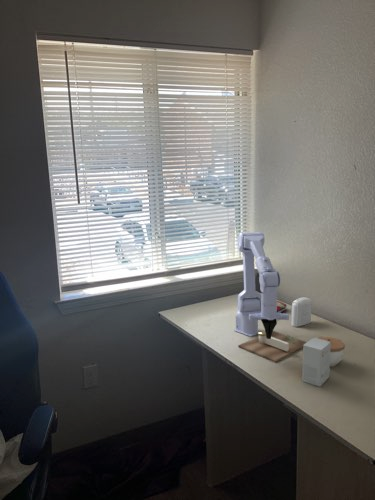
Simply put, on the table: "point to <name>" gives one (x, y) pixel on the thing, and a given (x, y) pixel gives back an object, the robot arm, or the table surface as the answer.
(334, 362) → the lidded jar
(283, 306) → the pencil case
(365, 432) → the table surface
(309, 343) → the small box
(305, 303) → the photo printer
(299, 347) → the board
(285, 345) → the peg lever
